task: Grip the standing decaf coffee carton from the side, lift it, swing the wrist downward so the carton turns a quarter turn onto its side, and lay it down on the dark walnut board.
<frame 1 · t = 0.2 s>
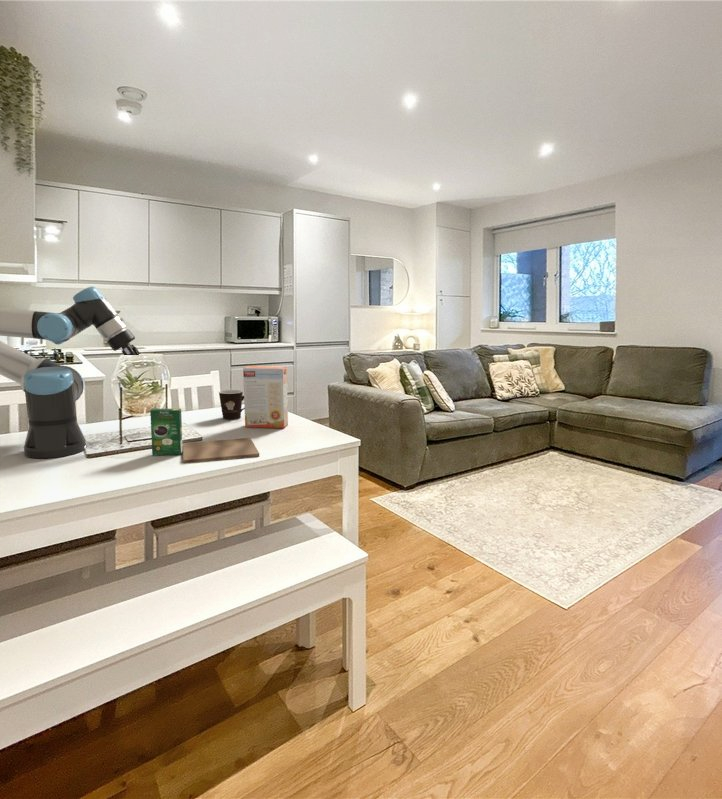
hand: (160, 390, 160), 14 cm above the table, tool tilted 35°, fingers open, 13 cm apart
coffee box: (168, 454, 140), on the table
cracker box: (266, 426, 174), on the table
walnut board: (219, 450, 144), on the table
coffee mug: (235, 418, 186), on the table
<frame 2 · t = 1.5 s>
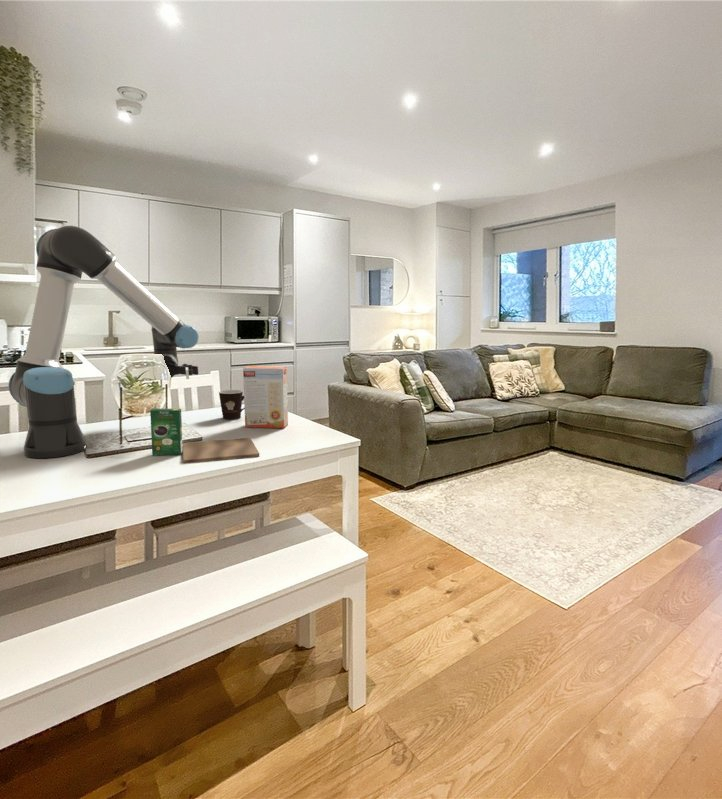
hand: (163, 375, 147), 21 cm above the table, tool horizontal, fingers open, 13 cm apart
nothing on the table moved.
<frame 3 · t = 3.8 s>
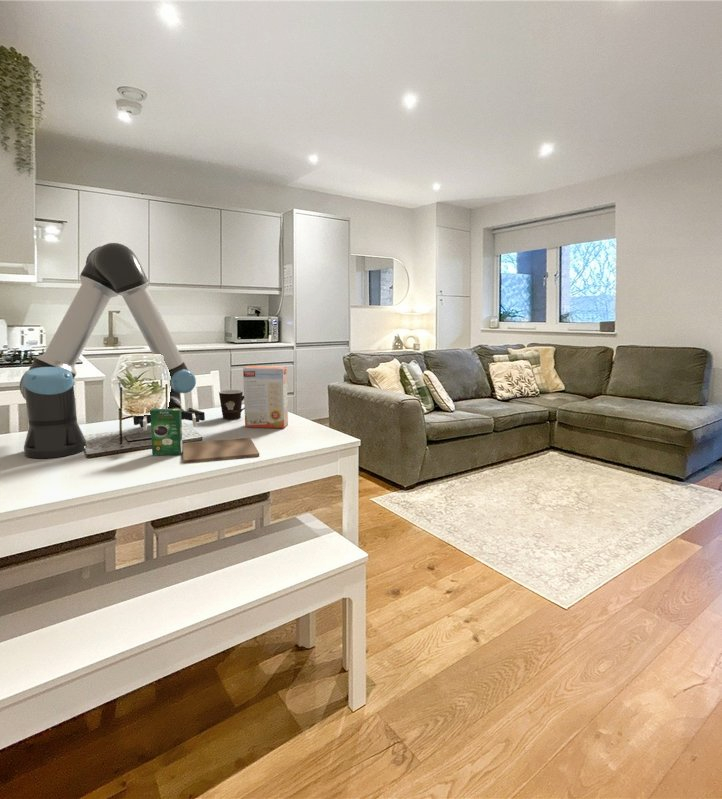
hand: (170, 424, 144), 7 cm above the table, tool horizontal, fingers open, 13 cm apart
nothing on the table moved.
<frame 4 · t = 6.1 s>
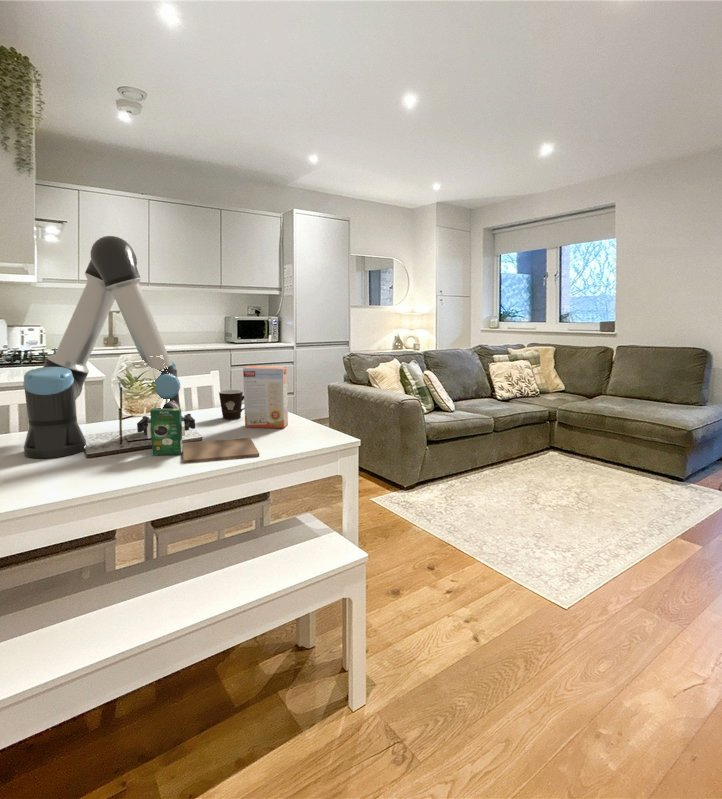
hand: (166, 432, 134), 8 cm above the table, tool horizontal, fingers closed on coffee box, 8 cm apart
coffee box: (168, 454, 140), on the table, touching gripper
everything else where it was.
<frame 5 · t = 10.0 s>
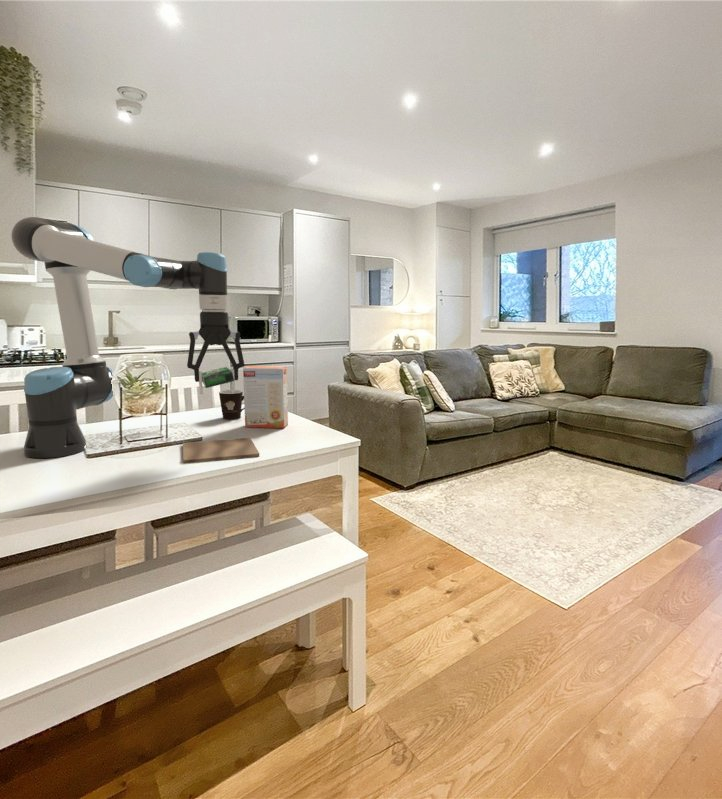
hand: (217, 392, 141), 17 cm above the table, tool pointing down, fingers closed on coffee box, 8 cm apart
coffee box: (218, 380, 133), point 22 cm above the table, touching gripper
everything else where it was.
when the fingers open (3 cm above the table, at t = 13.3 s): coffee box drops 6 cm, resting on walnut board.
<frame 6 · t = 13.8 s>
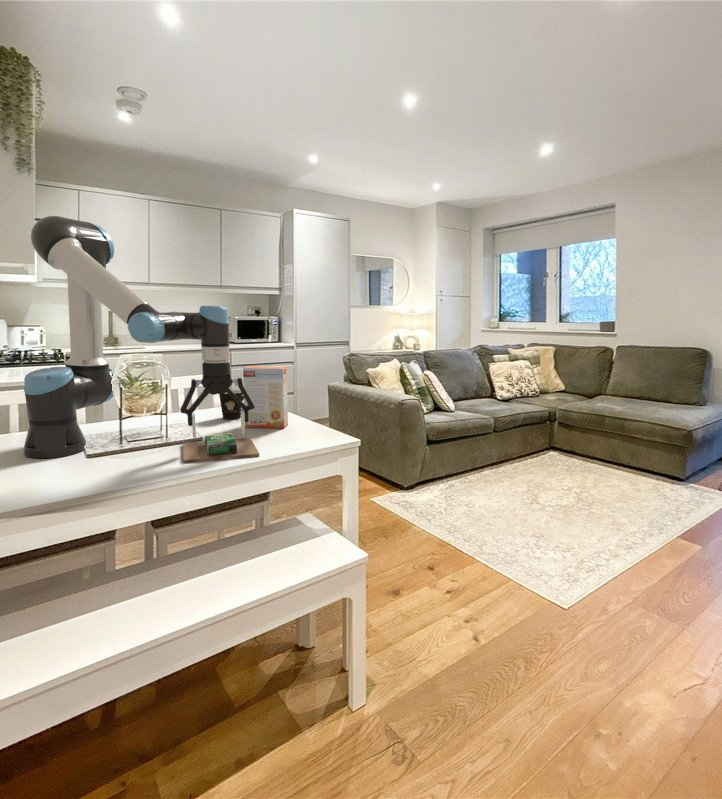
hand: (219, 434, 143), 5 cm above the table, tool pointing down, fingers open, 13 cm apart
coffee box: (222, 450, 137), point 2 cm above the table, touching walnut board
everything else where it was.
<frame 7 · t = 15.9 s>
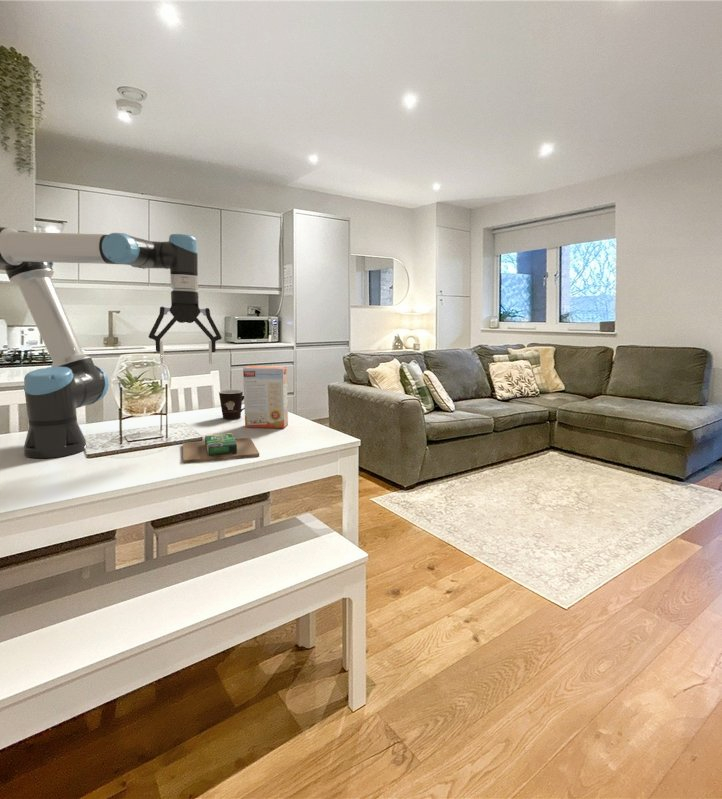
hand: (186, 363, 148), 24 cm above the table, tool pointing down, fingers open, 13 cm apart
nothing on the table moved.
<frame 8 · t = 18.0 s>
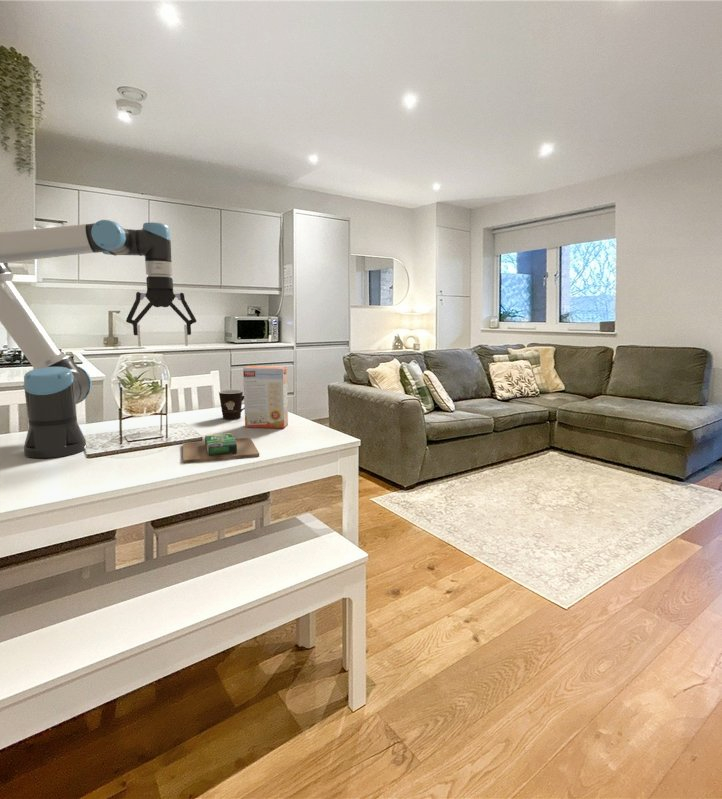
hand: (163, 345, 156), 29 cm above the table, tool pointing down, fingers open, 13 cm apart
nothing on the table moved.
at the end: coffee box tilted 90°; coffee box inside the target area on the walnut board (7.5 cm from its centre), point 2.2 cm above the walnut board's base; the gripper is holding nothing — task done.
